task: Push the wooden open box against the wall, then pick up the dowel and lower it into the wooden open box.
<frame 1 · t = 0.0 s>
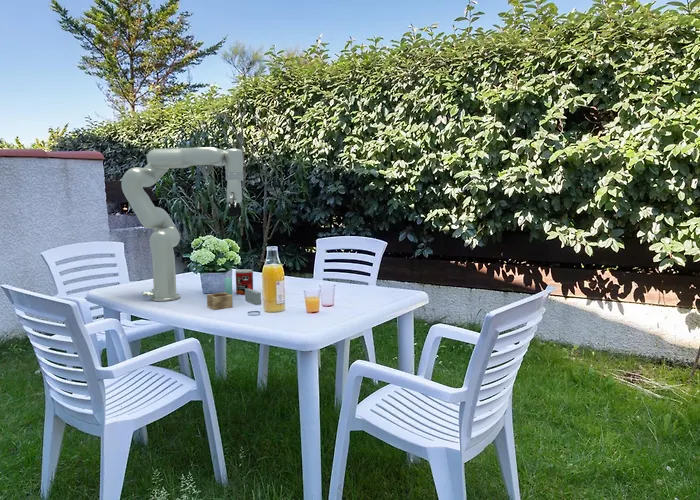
hand: (235, 216, 218), 37 cm above the table, tool pointing down, fingers open, 9 cm apart
wall: (252, 302, 214), on the table
dowel: (228, 300, 218), on the table
canned food: (244, 293, 233), on the table
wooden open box: (219, 300, 205), point 2 cm above the table, slide at 0.0 cm
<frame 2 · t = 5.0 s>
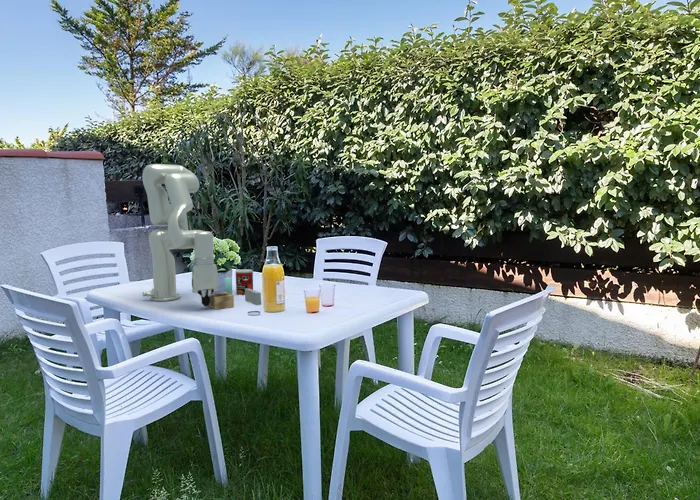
hand: (205, 305, 202), 1 cm above the table, tool pointing down, fingers closed
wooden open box: (220, 300, 205), point 2 cm above the table, slide at 0.6 cm, touching gripper
everything else where it was.
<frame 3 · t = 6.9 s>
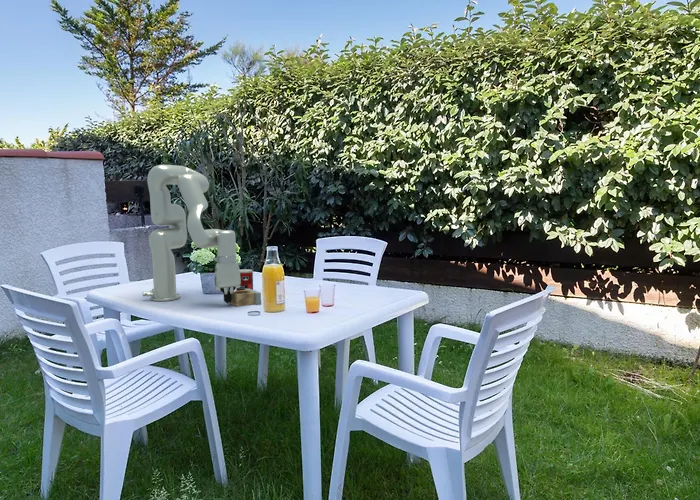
hand: (227, 302, 207), 1 cm above the table, tool pointing down, fingers closed
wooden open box: (242, 297, 211), point 2 cm above the table, slide at 10.0 cm, touching gripper, wall
everything else where it was.
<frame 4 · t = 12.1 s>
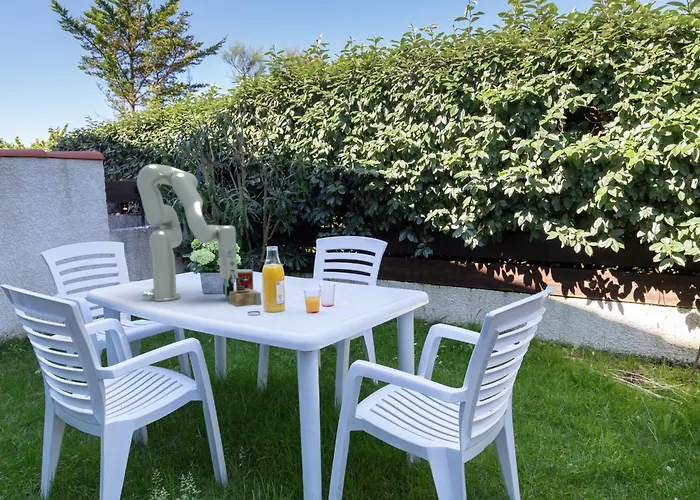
hand: (228, 294, 218), 3 cm above the table, tool pointing down, fingers closed on dowel, 3 cm apart
dowel: (228, 300, 218), on the table, touching gripper
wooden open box: (242, 297, 211), point 2 cm above the table, slide at 10.0 cm, touching wall
everything else where it was.
when the fingers open (5 cm above the table, at t = 16.3 s): dowel drops 2 cm, resting on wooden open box.
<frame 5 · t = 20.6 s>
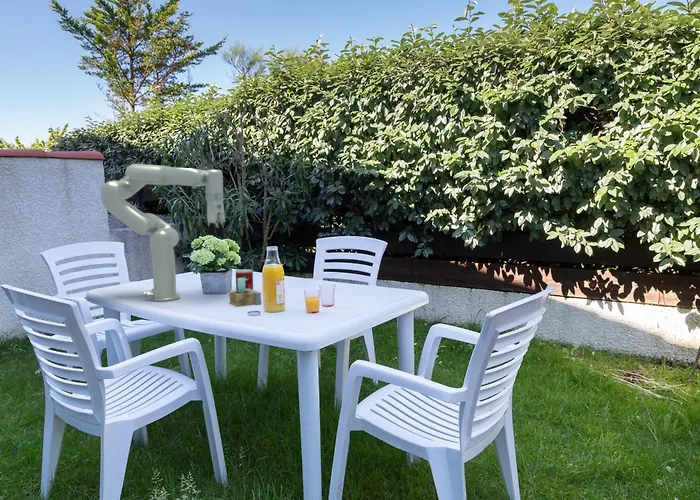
hand: (215, 235, 220), 28 cm above the table, tool pointing down, fingers open, 9 cm apart
dowel: (242, 301, 211), point 1 cm above the table, touching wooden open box
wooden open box: (242, 297, 211), point 2 cm above the table, slide at 10.0 cm, touching dowel
everything else where it was.
at the end: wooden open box slide at 10.0 cm; dowel 0.1 cm off-centre on the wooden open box, point 1.0 cm above the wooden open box's base; dowel tilted 1° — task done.
